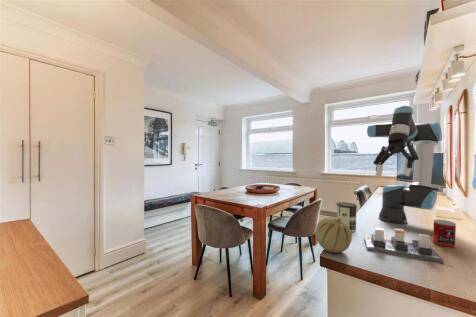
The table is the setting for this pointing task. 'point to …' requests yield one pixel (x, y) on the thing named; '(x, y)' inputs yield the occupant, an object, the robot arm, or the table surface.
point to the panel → (410, 249)
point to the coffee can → (347, 214)
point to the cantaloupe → (333, 235)
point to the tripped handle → (399, 235)
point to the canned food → (444, 233)
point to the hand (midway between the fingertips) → (391, 176)
